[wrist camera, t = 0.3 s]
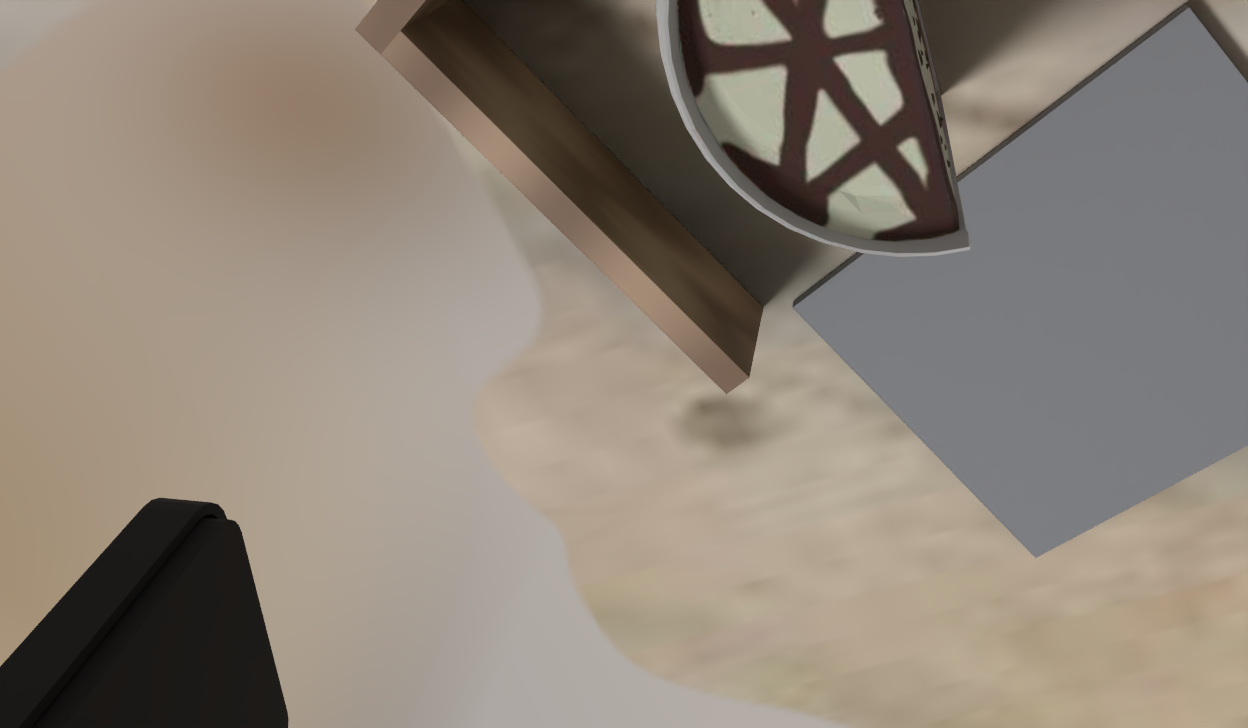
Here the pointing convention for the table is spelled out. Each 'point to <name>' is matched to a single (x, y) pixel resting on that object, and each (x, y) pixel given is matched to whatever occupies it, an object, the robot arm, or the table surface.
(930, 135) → the food container
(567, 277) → the table surface
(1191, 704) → the table surface
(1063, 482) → the gray mat
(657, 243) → the open side box
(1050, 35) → the table surface
